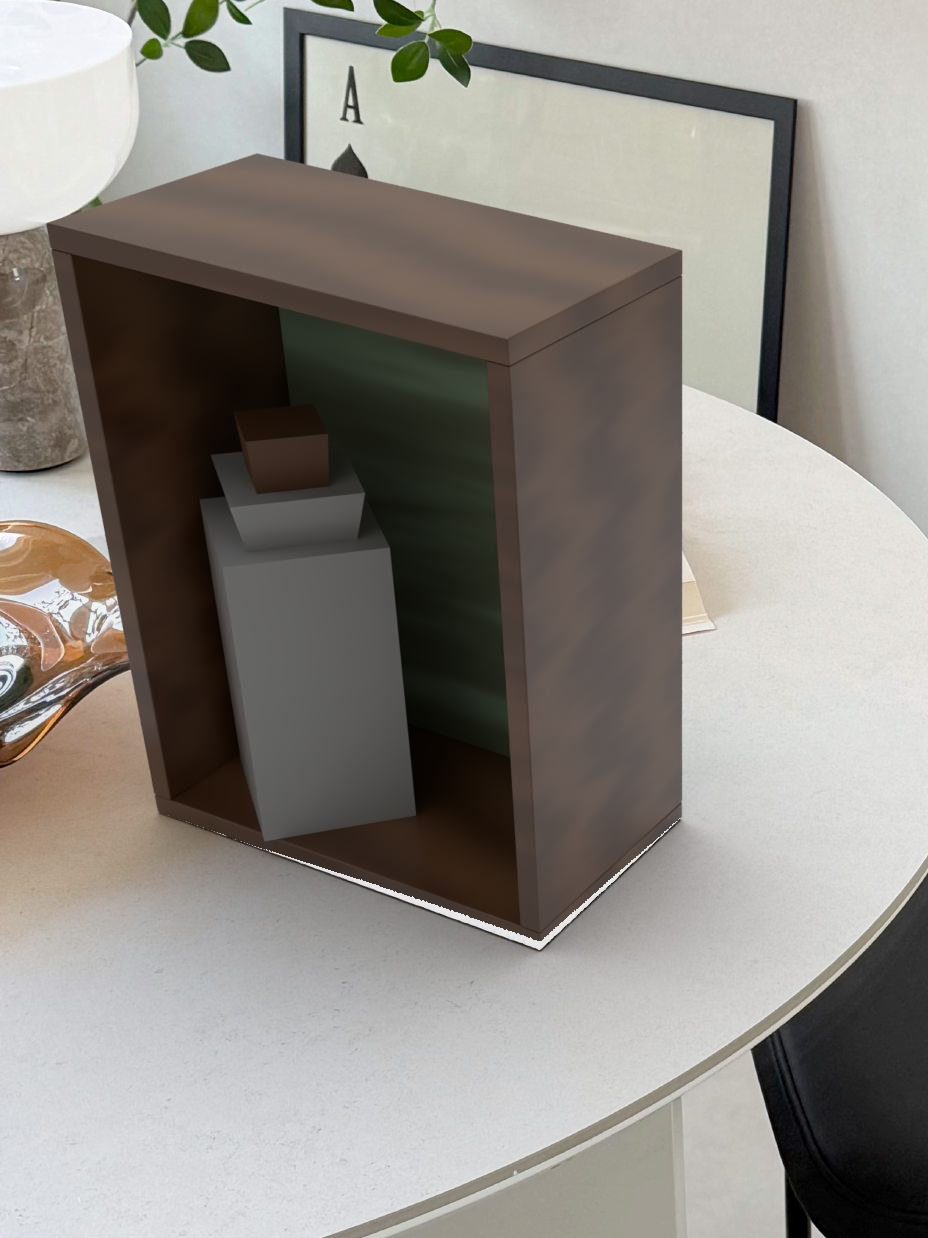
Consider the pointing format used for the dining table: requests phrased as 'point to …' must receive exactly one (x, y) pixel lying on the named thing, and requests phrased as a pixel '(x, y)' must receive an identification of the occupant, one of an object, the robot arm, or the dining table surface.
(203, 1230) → the dining table surface
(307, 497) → the perfume bottle
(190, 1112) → the dining table surface
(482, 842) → the cabinet
